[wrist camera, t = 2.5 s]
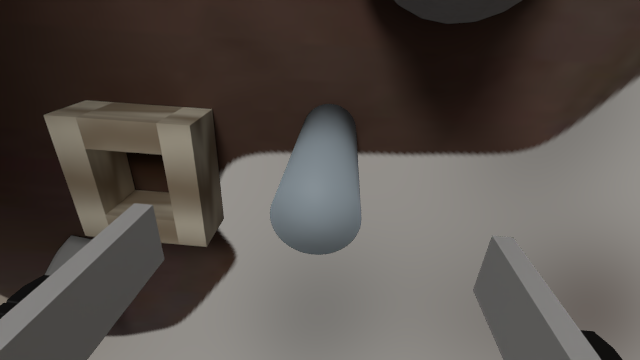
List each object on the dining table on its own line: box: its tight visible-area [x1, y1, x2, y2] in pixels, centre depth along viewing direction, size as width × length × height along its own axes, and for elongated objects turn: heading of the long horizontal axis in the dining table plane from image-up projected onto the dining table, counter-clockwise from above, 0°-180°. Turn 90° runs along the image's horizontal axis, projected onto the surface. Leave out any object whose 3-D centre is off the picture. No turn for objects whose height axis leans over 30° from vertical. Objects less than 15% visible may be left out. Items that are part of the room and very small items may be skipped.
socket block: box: [43, 100, 224, 247], centre depth 26 cm, size 10×10×4 cm
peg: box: [270, 104, 361, 255], centre depth 20 cm, size 4×4×12 cm
